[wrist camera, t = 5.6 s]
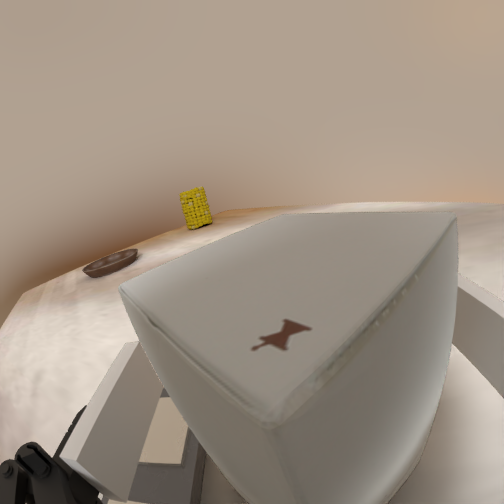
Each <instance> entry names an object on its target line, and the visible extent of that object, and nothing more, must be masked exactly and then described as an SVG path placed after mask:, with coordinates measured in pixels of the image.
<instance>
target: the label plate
mask: <svg viewBox="0 0 504 504" xmlns="http://www.w3.org/2000/svg"><path fill="white" fill-rule="evenodd" d="M205 456H206V451H205V449H204V448H203V447H202V445H201V444H200V442H199V441H198V439H197V438H196V437H195V435H194V434H193V432H192V431H191V429H190V428H189V426H188V425H187V423H186V422H185V420H184V419H183V417H182V415H181V414H180V412H179V411H178V409H177V407H176V406H175V404H174V403H173V401H172V399H171V398H170V396H169V394H168V393H167V391H166V389H165V388H163V390H162V393H161V396H160V399H159V402H158V404H157V407H156V410H155V413H154V416H153V419H152V422H151V425H150V428H149V431H148V434H147V437H146V441H145V444H144V447H143V450H142V453H141V456H140V459H139V463H138V466H137V469H136V472H135V476H134V479H133V482H132V486H131V489H130V492H129V496H128V499H127V503H124V502H119V501H114V500H110V499H108V498H107V497H105V496H104V495H103V498H102V503H103V504H200V496H201V488H202V480H203V472H204V464H205Z"/></svg>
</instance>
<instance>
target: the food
mask: <svg viewBox="0 0 504 504" xmlns="http://www.w3.org/2000/svg"><path fill="white" fill-rule="evenodd" d="M179 196H180V201H181V204H182V208H183V213H184V216H185V220H186V223H187V224H186V225H187V228H188V229H190V230H191V229H195V228H199V226H203V224H207V223H208V224H211V223H212V220H211V219H212V217H211V214H210V211H209V205H208V202H207V198H206V195H205V191H204V188H203V187H199V188H194V189H191V190H190V191H186V192H183V193H180V194H179ZM194 208H195V209H194Z"/></svg>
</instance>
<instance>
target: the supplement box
mask: <svg viewBox="0 0 504 504" xmlns="http://www.w3.org/2000/svg"><path fill="white" fill-rule="evenodd" d="M118 289H119V293H120V296H121V298H122V301H123V303H124V306H125V308H126V311H127V313H128V316H129V318H130V320H131V323H132V325H133V327H134V329H135V332H136V334H137V336H138V338H139V340H140V343H141V345H142V347H143V349H144V351H145V353H146V355H147V357H148V359H149V361H150V362H151V364H152V366H153V368H154V370H155V372H156V374H157V375H158V377H159V379H160V381H161V382H162V384H163V386H164V388H165V389H166V391H167V393H168V394H169V396H170V398H171V399H172V401H173V403H174V404H175V406H176V407H177V409H178V411H179V412H180V414H181V415H182V417H183V419H184V420H185V422H186V423H187V425H188V426H189V428H190V429H191V431H192V432H193V434H194V435H195V437H196V438H197V439H198V441H199V442H200V444H201V445H202V447H203V448H204V449H205V451H206V452H207V454H208V455H209V456H210V458H211V459H212V460H213V462H214V463H215V464H216V465H217V467H218V468H219V470H220V471H221V472H222V474H223V475H224V476H225V478H226V479H227V480H228V481H229V483H230V484H231V485H232V486H233V487H234V489H235V490H236V491H237V492H238V493H239V494H240V495H241V496H242V497H243V498H244V499H245V500H246V501H247V502H248V503H249V504H387V503H388V502H389V501H390V500H391V499H392V497H393V496H394V495H395V494H396V492H397V491H398V490H399V489H400V487H401V486H402V485H403V483H404V482H405V481H406V479H407V478H408V477H409V475H410V474H411V472H412V471H413V470H414V468H415V467H416V465H417V464H418V462H419V461H420V458H421V456H422V453H423V450H424V448H425V445H426V442H427V439H428V436H429V434H430V431H431V428H432V425H433V422H434V418H435V415H436V411H437V408H438V404H439V400H440V397H441V393H442V389H443V385H444V381H445V377H446V372H447V367H448V363H449V357H450V351H451V346H452V339H453V331H454V324H455V315H456V303H457V289H458V228H457V217H456V214H455V213H454V212H350V213H309V214H283V215H280V216H277V217H274V218H272V219H269V220H266V221H264V222H261V223H259V224H256V225H254V226H251V227H249V228H246V229H244V230H241V231H239V232H236V233H234V234H231V235H229V236H227V237H224V238H222V239H220V240H217V241H215V242H213V243H210V244H208V245H206V246H203V247H201V248H199V249H196V250H194V251H192V252H189V253H187V254H185V255H183V256H180V257H178V258H176V259H174V260H171V261H169V262H167V263H165V264H162V265H160V266H158V267H156V268H153V269H151V270H149V271H147V272H145V273H143V274H140V275H138V276H136V277H134V278H132V279H130V280H128V281H126V282H124V283H122V284H121V285H119V287H118Z"/></svg>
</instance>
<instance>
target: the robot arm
mask: <svg viewBox="0 0 504 504" xmlns="http://www.w3.org/2000/svg"><path fill="white" fill-rule="evenodd" d="M452 344H453V345H454V346H455V347H456V348H457V349H458V350H459V351H460V352H461V353H462V354H463V355H464V356H465V357H466V358H467V359H468V360H469V361H470V362H471V363H472V364H473V365H474V366H475V367H476V368H477V369H478V370H479V371H480V373H481V374H482V375H483V376H484V377H485V378H486V379H487V380H488V381H489V382H490V383H491V385H492V386H493V387H494V388H495V389H496V390H497V391H498V392H499V394H500V395H501V396H502V397H503V398H504V301H502V300H501V299H499V298H498V297H496V296H495V295H493V294H492V293H490V292H488V291H487V290H485V289H484V288H482V287H481V286H479V285H477V284H476V283H474V282H472V281H471V280H469V279H468V278H466V277H464V276H463V275H461V274H459V273H458V289H457V303H456V315H455V324H454V331H453V339H452ZM162 390H163V385H162V383H161V381H160V380H159V378H158V376H157V374H156V372H155V370H154V369H153V367H152V365H151V363H150V361H149V359H148V357H147V355H146V353H145V351H144V349H143V348H142V346H141V343H140V341H137V342H130V343H125V345H124V346H123V348H122V349H121V351H120V352H119V354H118V356H117V357H116V359H115V360H114V362H113V364H112V365H111V367H110V368H109V370H108V372H107V373H106V375H105V377H104V378H103V380H102V382H101V383H100V385H99V386H98V388H97V390H96V392H95V393H94V395H93V397H92V398H91V400H90V402H89V403H88V405H86V406H85V407H84V408H83V409H82V410H80V411H79V412H78V413H77V415H76V417H75V418H74V420H73V422H72V425H70V427H69V429H68V432H66V434H65V436H64V438H63V440H62V441H61V443H60V445H59V447H58V449H57V451H56V452H55V454H54V456H53V458H51V457H50V456H49V455H48V454H47V453H46V452H45V451H44V449H43V448H42V447H41V446H40V445H39V444H37V443H36V442H29V443H26V444H24V445H22V446H21V447H20V448H19V449H18V451H17V453H16V455H15V460H11V459H9V460H6V461H4V462H3V463H2V464H1V465H0V504H25V503H26V504H103V503H102V501H101V500H100V499H99V498H98V495H99V492H100V493H101V494H103V495H104V496H105V497H107V498H108V499H110V500H114V501H119V502H124V503H127V499H128V496H129V492H130V489H131V486H132V482H133V479H134V476H135V472H136V469H137V466H138V463H139V459H140V456H141V453H142V450H143V447H144V444H145V441H146V437H147V434H148V431H149V428H150V425H151V422H152V419H153V416H154V413H155V410H156V407H157V404H158V402H159V399H160V396H161V393H162Z"/></svg>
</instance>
